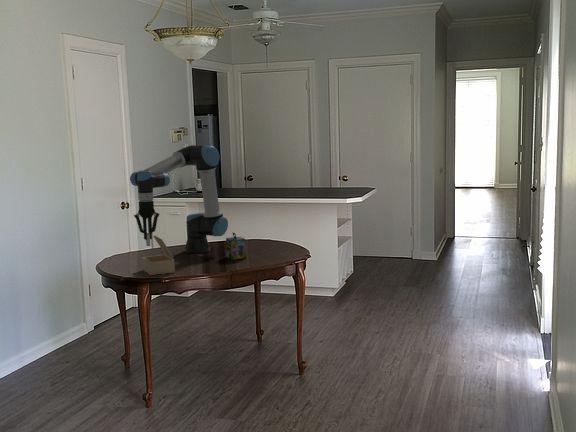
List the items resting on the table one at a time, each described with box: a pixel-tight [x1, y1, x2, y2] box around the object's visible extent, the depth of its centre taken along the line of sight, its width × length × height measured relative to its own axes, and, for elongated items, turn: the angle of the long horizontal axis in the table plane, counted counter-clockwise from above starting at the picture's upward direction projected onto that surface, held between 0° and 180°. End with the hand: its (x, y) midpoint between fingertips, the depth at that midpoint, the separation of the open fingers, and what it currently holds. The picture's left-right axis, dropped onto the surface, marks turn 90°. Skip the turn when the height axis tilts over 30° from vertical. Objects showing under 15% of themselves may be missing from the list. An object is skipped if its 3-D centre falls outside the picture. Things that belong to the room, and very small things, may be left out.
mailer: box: [141, 254, 176, 276], centre depth 329 cm, size 15×13×7 cm
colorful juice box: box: [225, 231, 247, 261], centre depth 358 cm, size 9×9×15 cm
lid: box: [152, 234, 174, 259], centre depth 329 cm, size 15×11×1 cm
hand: (148, 245), depth 325 cm, fingers closed
